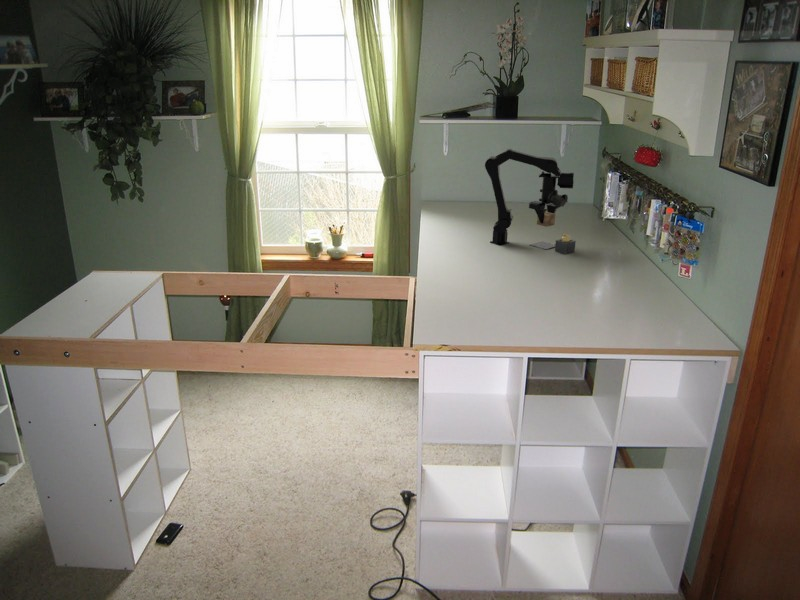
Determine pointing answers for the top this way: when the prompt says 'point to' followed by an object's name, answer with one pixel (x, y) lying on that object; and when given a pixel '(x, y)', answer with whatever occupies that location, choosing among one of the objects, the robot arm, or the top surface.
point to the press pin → (565, 237)
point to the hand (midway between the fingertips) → (545, 222)
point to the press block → (565, 246)
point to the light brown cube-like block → (547, 219)
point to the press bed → (543, 245)
